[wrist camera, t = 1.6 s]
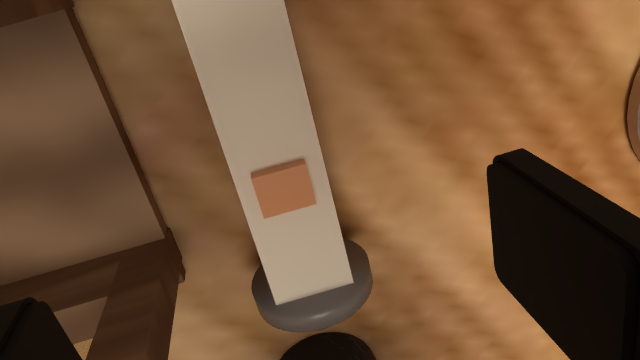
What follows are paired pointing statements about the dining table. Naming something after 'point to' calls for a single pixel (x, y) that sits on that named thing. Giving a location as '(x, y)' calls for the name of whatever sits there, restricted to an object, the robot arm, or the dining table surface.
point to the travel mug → (330, 348)
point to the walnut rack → (77, 194)
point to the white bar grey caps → (275, 162)
